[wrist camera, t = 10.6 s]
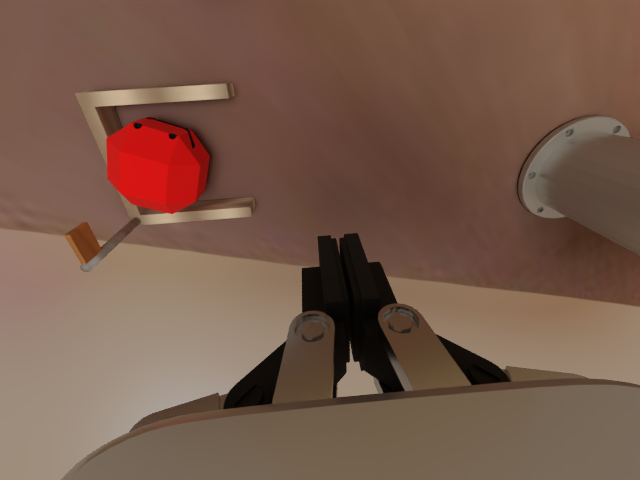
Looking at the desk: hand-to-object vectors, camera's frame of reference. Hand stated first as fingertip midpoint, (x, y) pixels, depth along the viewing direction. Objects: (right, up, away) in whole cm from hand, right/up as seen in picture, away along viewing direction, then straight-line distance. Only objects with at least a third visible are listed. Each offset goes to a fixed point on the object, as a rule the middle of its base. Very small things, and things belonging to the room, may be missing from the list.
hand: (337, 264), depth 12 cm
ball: (-17, +10, +20) cm, 28 cm away
